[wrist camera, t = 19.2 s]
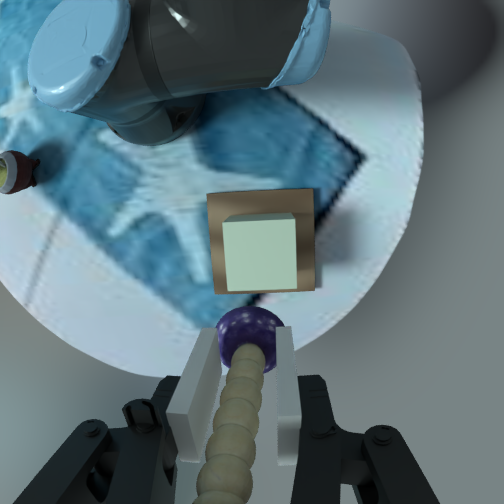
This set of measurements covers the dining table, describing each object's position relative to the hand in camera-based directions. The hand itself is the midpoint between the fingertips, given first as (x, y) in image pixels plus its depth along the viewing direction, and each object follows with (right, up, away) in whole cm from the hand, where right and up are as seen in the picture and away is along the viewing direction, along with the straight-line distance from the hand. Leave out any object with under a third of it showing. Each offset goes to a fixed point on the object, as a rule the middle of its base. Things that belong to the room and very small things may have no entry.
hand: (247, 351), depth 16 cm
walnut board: (+2, +6, +28) cm, 28 cm away
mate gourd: (-38, +19, +27) cm, 51 cm away
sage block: (+2, +6, +27) cm, 27 cm away
